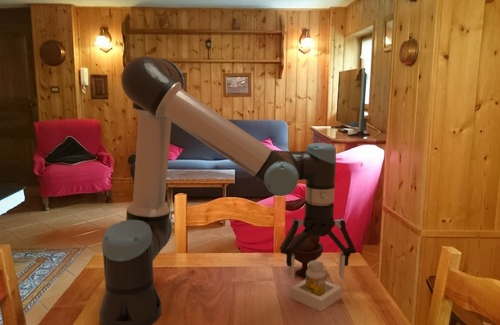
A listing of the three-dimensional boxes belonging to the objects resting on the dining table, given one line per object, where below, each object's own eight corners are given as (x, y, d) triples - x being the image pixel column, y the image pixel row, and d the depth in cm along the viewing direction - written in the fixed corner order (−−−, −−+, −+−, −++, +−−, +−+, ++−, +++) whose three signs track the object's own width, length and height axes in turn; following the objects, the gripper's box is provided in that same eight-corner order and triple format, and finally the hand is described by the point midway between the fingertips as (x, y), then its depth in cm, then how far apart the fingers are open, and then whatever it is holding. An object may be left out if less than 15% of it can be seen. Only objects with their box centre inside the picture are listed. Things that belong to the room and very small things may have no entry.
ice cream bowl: (305, 263, 137) (307, 220, 134) (329, 276, 128) (331, 230, 125) (280, 271, 131) (280, 226, 128) (303, 285, 122) (304, 237, 119)
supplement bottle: (328, 297, 114) (330, 264, 112) (314, 302, 111) (315, 269, 109) (315, 289, 119) (316, 257, 117) (301, 294, 116) (302, 262, 114)
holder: (290, 298, 115) (290, 287, 114) (311, 285, 122) (312, 275, 121) (320, 311, 108) (321, 300, 108) (341, 297, 115) (341, 287, 115)
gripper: (273, 206, 106) (272, 283, 110) (370, 206, 106) (365, 282, 110) (271, 198, 113) (270, 270, 117) (362, 198, 114) (358, 270, 118)
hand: (316, 276), depth 114 cm, fingers open, 13 cm apart
